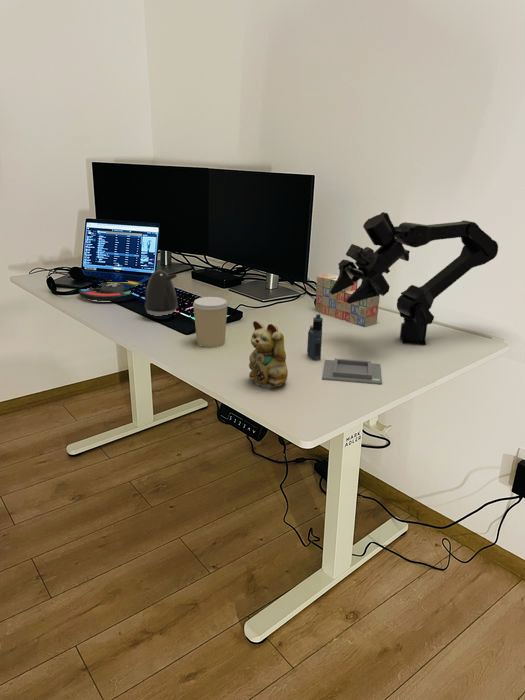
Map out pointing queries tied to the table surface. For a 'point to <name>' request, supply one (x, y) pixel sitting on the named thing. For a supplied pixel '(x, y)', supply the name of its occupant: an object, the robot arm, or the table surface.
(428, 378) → the table surface
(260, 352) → the decorative figurine
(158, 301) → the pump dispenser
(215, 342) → the coffee cup
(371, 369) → the dock
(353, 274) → the robot arm
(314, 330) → the vaping device
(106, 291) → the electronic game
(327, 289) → the stack of blocks
